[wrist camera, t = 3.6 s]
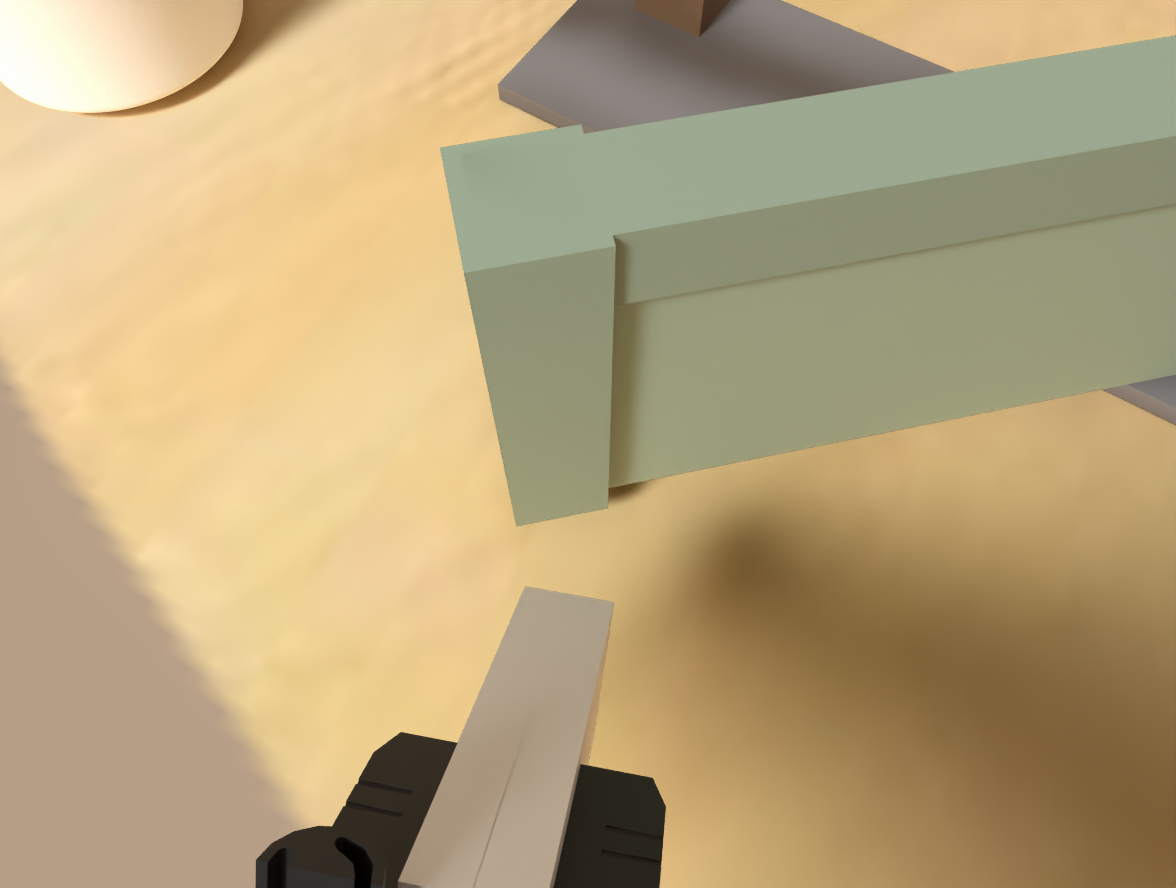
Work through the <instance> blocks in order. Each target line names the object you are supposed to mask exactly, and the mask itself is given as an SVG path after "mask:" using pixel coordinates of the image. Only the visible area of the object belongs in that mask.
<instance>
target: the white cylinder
mask: <svg viewBox="0 0 1176 888" xmlns="http://www.w3.org/2000/svg"><path fill="white" fill-rule="evenodd" d="M242 13H243V0H0V80H1V82H2V83H3V84H4V85H5V86H7V87H8V88H9V89H10V90H11V91H13V92H14V93H16V94H17V95H19V96H21V97H22V98H24V99H26V100H28V101H30V102H33V103H35V104H38V105H41V106H44V107H47V108H51V109H55V110H60V111H67V112H78V113H101V112H111V111H118V110H124V109H129V108H133V107H137V106H141V105H144V104H147V103H150V102H153V101H156V100H159V99H161V98H164V97H166V96H168V95H170V94H172V93H174V92H176V91H178V90H180V89H182V88H184V87H185V86H187V85H189V84H190V83H192V82H193V81H195V80H196V79H198V78H199V77H200V76H202V75H203V74H204V73H205V72H207V71H208V70H209V69H210V68H211V67H212V66H213V65H214V64H215V63H216V62H217V61H218V60H219V59H220V58H221V57H222V55H223V54H224V53H225V52H226V50H227V49H228V48H229V46H230V45H231V43H232V41H233V40H234V38H235V36H236V33H237V31H238V29H239V26H240V22H241V18H242Z"/></svg>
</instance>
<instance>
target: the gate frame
mask: <svg viewBox="0 0 1176 888" xmlns="http://www.w3.org/2000/svg"><path fill="white" fill-rule="evenodd" d="M947 73H953V71H951V70H949V69H946V68H944V67H941V66H939V65H936V64H934V63H932V62H929V61H927V60H924V59H922V58H919V57H917V56H915V55H912V54H910V53H907V52H905V51H902V50H900V49H898V48H895V47H893V46H890V45H888V44H886V43H883V42H881V41H878V40H876V39H873V38H871V37H869V36H866V35H864V34H861V33H859V32H856V31H854V30H852V29H849V28H847V27H844V26H842V25H839V24H837V23H835V22H832V21H830V20H827V19H825V18H822V17H820V16H818V15H815V14H813V13H810V12H808V11H806V10H803V9H801V8H798V7H796V6H793V5H791V4H789V3H786V2H784V1H781V0H577V1H576V2H575V3H574V4H573V5H572V6H571V8H570V9H569V10H568V11H567V12H566V13H565V14H564V15H563V16H562V17H561V18H560V19H559V20H558V21H557V22H556V23H555V25H554V26H553V27H552V28H551V29H550V30H549V31H548V32H547V33H546V34H545V35H544V36H543V37H542V38H541V39H540V40H539V41H538V43H537V44H536V45H535V46H534V47H533V48H532V49H531V50H530V51H529V52H528V53H527V54H526V55H525V56H524V57H523V58H522V59H521V61H520V62H519V63H518V64H517V65H516V66H515V67H514V68H513V69H512V70H511V71H510V72H509V73H508V74H507V75H506V76H505V77H504V79H503V80H502V81H501V82H500V83H499V84H498V89H499V97H500V100H502V101H504V102H506V103H508V104H510V105H512V106H515V107H517V108H519V109H521V110H523V111H525V112H527V113H529V114H531V115H533V116H535V117H537V118H539V119H542V120H544V121H546V122H548V123H550V124H552V125H554V126H556V127H558V128H562V127H568V126H574V125H580V124H581V126H582V129H583V133H584V134H586V133H592V132H598V131H604V130H610V129H616V128H622V127H628V126H634V125H640V124H646V123H652V122H658V121H664V120H670V119H676V118H682V117H688V116H694V115H700V114H706V113H712V112H718V111H724V110H730V109H736V108H742V107H748V106H754V105H760V104H766V103H772V102H778V101H784V100H790V99H796V98H802V97H808V96H814V95H820V94H826V93H832V92H838V91H844V90H850V89H856V88H862V87H868V86H874V85H880V84H886V83H892V82H899V81H905V80H911V79H917V78H923V77H929V76H935V75H941V74H947ZM1102 390H1104V391H1106V392H1108V393H1110V394H1112V395H1115V396H1117V397H1119V398H1121V399H1123V400H1125V401H1127V402H1129V403H1131V404H1133V405H1135V406H1137V407H1139V408H1142V409H1144V410H1146V411H1148V412H1150V413H1152V414H1154V415H1156V416H1158V417H1160V418H1162V419H1164V420H1166V421H1169V422H1171V423H1173V424H1175V425H1176V375H1172V376H1167V377H1162V378H1157V379H1152V380H1147V381H1142V382H1137V383H1132V384H1127V385H1122V386H1117V387H1112V388H1107V389H1102Z"/></svg>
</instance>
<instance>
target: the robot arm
mask: <svg viewBox="0 0 1176 888" xmlns="http://www.w3.org/2000/svg"><path fill="white" fill-rule="evenodd" d="M613 606H614V602H611V601H605V600H600V599H594V598H589V597H583V596H577V595H572V594H566V593H560V592H555V591H549V590H543V589H538V588H532V587H526V586H525V588H524V590H523V593H522V595H521V597H520V599H519V602H518V604H517V606H516V609H515V611H514V613H513V616H512V618H511V620H510V623H509V625H508V627H507V630H506V632H505V634H504V637H503V639H502V641H501V644H500V646H499V648H498V651H497V653H496V655H495V657H494V660H493V662H492V664H491V667H490V669H489V671H488V674H487V676H486V678H485V681H484V683H483V685H482V688H481V690H480V692H479V695H478V697H477V699H476V702H475V704H474V706H473V709H472V711H471V713H470V715H469V718H468V720H467V722H466V725H465V727H464V729H463V732H462V734H461V736H460V739H459V741H458V743H455V742H450V741H445V740H439V739H434V738H429V737H424V736H419V735H413V734H408V733H403V732H401V733H399V734H398V735H396V736H395V737H394V738H392V739H391V740H390V741H388V742H387V743H386V744H384V745H383V746H382V747H380V748H379V749H378V750H376V751H375V752H374V753H373V754H372V756H371V758H370V760H369V762H368V763H367V765H366V767H365V769H364V771H363V772H362V774H361V776H360V778H359V781H358V784H356V785H355V787H354V788H353V790H352V792H351V794H350V796H349V797H348V799H347V801H346V805H345V807H344V806H343V808H342V810H341V812H340V813H339V815H338V817H337V819H336V820H335V822H334V824H333V826H332V827H331V826H316V827H312V828H307V829H302V830H298V831H294V832H292V833H290V834H288V835H286V836H284V837H283V838H281V839H279V840H277V841H275V842H273V843H272V844H271V845H270V846H269V847H268V848H267V849H266V850H265V851H264V852H263V853H262V854H261V855H260V856H259V857H258V858H257V860H256V888H659V886H660V873H661V861H662V848H663V836H664V823H665V811H666V806H665V804H664V802H663V799H662V797H661V795H660V793H659V791H658V788H657V786H656V784H655V782H654V780H653V778H650V777H645V776H640V775H635V774H629V773H624V772H619V771H614V770H609V769H603V768H598V767H593V766H588V763H589V758H590V753H591V748H592V743H593V738H594V731H595V725H596V718H597V712H598V705H599V698H600V692H601V685H602V679H603V672H604V665H605V659H606V652H607V646H608V639H609V632H610V626H611V619H612V613H613Z"/></svg>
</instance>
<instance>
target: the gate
mask: <svg viewBox="0 0 1176 888" xmlns="http://www.w3.org/2000/svg"><path fill="white" fill-rule="evenodd" d="M440 150H441V155H442V161H443V166H444V171H445V176H446V182H447V187H448V192H449V197H450V203H451V208H452V213H453V218H454V223H455V229H456V234H457V239H458V244H459V250H460V255H461V260H462V265H463V271H464V276H465V280H466V285H467V290H468V295H469V300H470V305H471V309H472V314H473V319H474V324H475V329H476V334H477V338H478V343H479V348H480V353H481V358H482V363H483V367H484V372H485V377H486V382H487V387H488V392H489V396H490V401H491V406H492V411H493V416H494V421H495V425H496V430H497V435H498V440H499V445H500V449H501V454H502V459H503V464H504V469H505V474H506V478H507V483H508V488H509V493H510V498H511V503H512V507H513V512H514V517H515V522H516V527H517V526H522V525H527V524H532V523H537V522H542V521H547V520H552V519H557V518H562V517H566V516H571V515H576V514H581V513H586V512H591V511H596V510H601V509H606V508H608V490H609V488H612V487H617V486H622V485H627V484H632V483H637V482H642V481H647V480H652V479H657V478H662V477H667V476H672V475H677V474H682V473H687V472H692V471H697V470H702V469H707V468H712V467H717V466H722V465H727V464H732V463H737V462H742V461H747V460H752V459H757V458H762V457H767V456H772V455H777V454H782V453H787V452H792V451H797V450H802V449H807V448H812V447H817V446H822V445H827V444H832V443H837V442H842V441H847V440H852V439H857V438H862V437H867V436H872V435H877V434H882V433H887V432H892V431H897V430H902V429H907V428H912V427H917V426H922V425H927V424H932V423H937V422H942V421H947V420H952V419H957V418H962V417H967V416H972V415H977V414H982V413H987V412H992V411H997V410H1002V409H1007V408H1012V407H1017V406H1022V405H1027V404H1032V403H1037V402H1042V401H1047V400H1052V399H1057V398H1062V397H1067V396H1072V395H1077V394H1082V393H1087V392H1092V391H1097V390H1102V389H1107V388H1112V387H1117V386H1122V385H1127V384H1132V383H1137V382H1142V381H1147V380H1152V379H1157V378H1162V377H1167V376H1172V375H1176V35H1175V36H1169V37H1163V38H1157V39H1151V40H1145V41H1139V42H1133V43H1127V44H1121V45H1115V46H1109V47H1103V48H1097V49H1091V50H1085V51H1079V52H1073V53H1067V54H1061V55H1055V56H1049V57H1043V58H1037V59H1031V60H1025V61H1019V62H1013V63H1007V64H1001V65H995V66H989V67H983V68H977V69H971V70H965V71H959V72H953V73H947V74H941V75H935V76H929V77H923V78H917V79H911V80H905V81H899V82H892V83H886V84H880V85H874V86H868V87H862V88H856V89H850V90H844V91H838V92H832V93H826V94H820V95H814V96H808V97H802V98H796V99H790V100H784V101H778V102H772V103H766V104H760V105H754V106H748V107H742V108H736V109H730V110H724V111H718V112H712V113H706V114H700V115H694V116H688V117H682V118H676V119H670V120H664V121H658V122H652V123H646V124H640V125H634V126H628V127H622V128H616V129H610V130H604V131H598V132H592V133H586V134H584V133H583V129H582V126H581V124H580V125H574V126H568V127H562V128H556V129H550V130H544V131H538V132H532V133H526V134H520V135H514V136H508V137H502V138H496V139H490V140H484V141H477V142H471V143H465V144H459V145H453V146H447V147H441V148H440Z"/></svg>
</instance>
